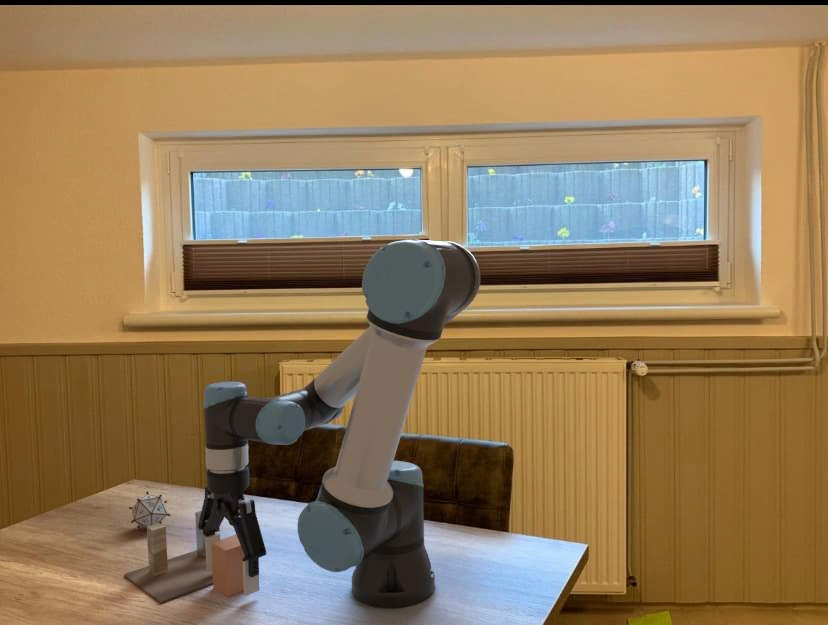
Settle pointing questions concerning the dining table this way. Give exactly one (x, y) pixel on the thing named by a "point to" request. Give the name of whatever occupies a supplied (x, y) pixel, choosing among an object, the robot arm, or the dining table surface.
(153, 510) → the knobbed grey icosahedron
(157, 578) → the board
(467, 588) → the dining table surface
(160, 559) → the birch post
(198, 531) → the grey post
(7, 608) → the dining table surface
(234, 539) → the terracotta upright block
